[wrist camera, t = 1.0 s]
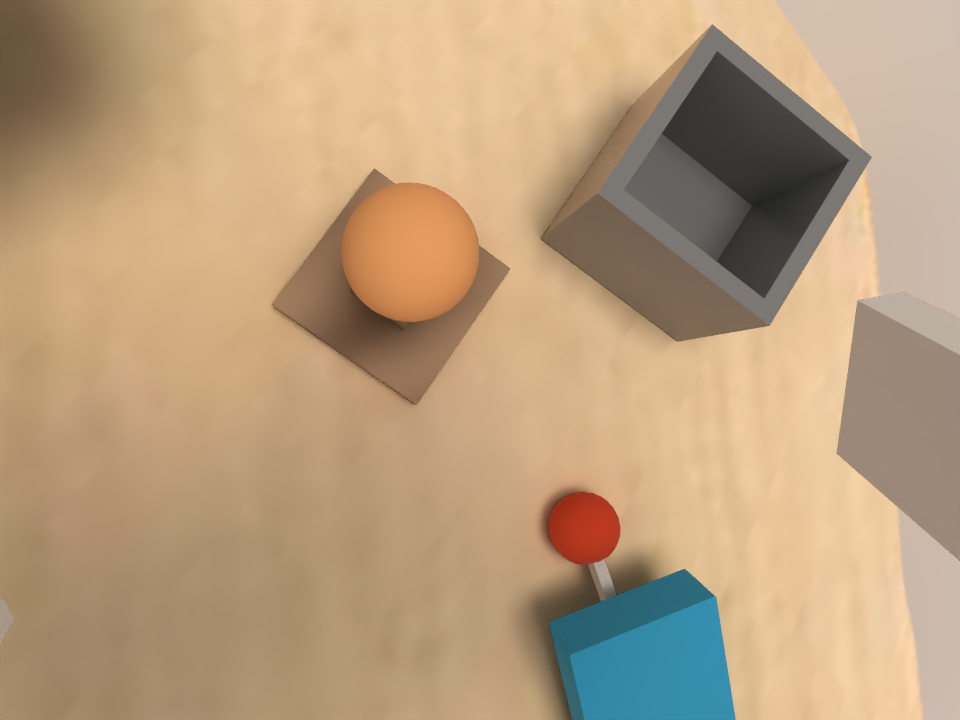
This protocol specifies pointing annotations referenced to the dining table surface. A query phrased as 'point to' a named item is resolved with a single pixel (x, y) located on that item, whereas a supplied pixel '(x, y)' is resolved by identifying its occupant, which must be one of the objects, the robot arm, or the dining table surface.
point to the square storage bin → (709, 195)
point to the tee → (368, 335)
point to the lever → (635, 633)
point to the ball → (410, 252)
